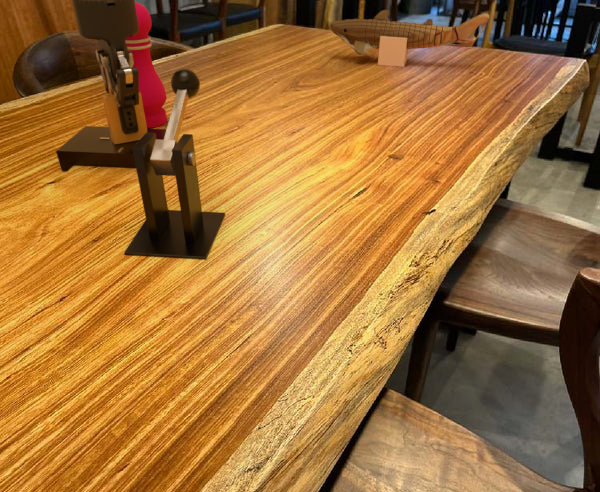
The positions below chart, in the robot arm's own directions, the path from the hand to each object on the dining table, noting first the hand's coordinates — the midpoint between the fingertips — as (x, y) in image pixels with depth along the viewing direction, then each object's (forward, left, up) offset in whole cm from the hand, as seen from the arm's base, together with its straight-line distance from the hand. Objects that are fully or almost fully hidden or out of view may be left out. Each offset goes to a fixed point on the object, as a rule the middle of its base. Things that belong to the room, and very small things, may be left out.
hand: (128, 129), depth 77 cm
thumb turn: (0, 0, -1) cm, 1 cm away
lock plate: (-2, 0, -5) cm, 5 cm away
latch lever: (+13, -16, +6) cm, 22 cm away
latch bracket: (+13, -22, -5) cm, 26 cm away
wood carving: (+43, +61, -5) cm, 75 cm away
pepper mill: (-3, +16, -5) cm, 17 cm away
